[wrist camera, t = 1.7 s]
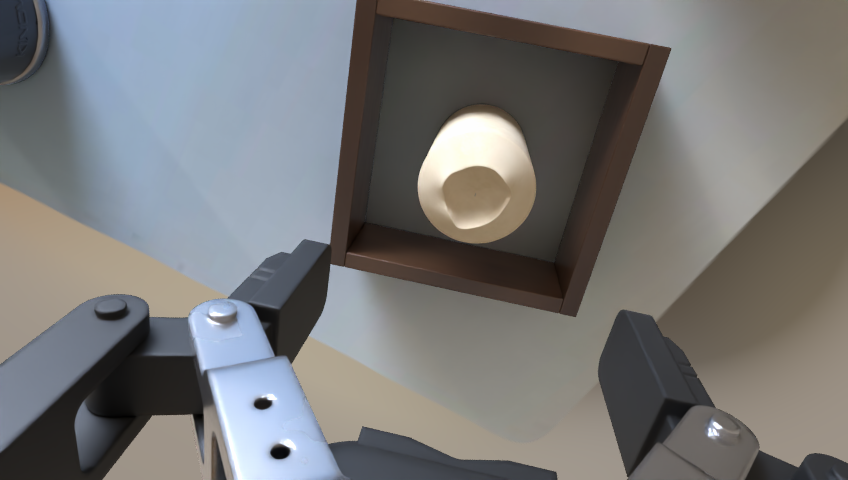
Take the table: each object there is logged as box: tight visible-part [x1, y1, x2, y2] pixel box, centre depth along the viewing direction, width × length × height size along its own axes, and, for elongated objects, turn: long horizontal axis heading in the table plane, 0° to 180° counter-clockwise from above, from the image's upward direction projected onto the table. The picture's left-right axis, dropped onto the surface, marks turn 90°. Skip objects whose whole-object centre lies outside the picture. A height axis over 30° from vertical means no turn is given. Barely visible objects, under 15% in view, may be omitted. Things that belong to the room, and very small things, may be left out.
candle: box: [418, 104, 536, 243], centre depth 27 cm, size 6×6×10 cm
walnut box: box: [330, 0, 671, 317], centre depth 29 cm, size 15×15×5 cm
